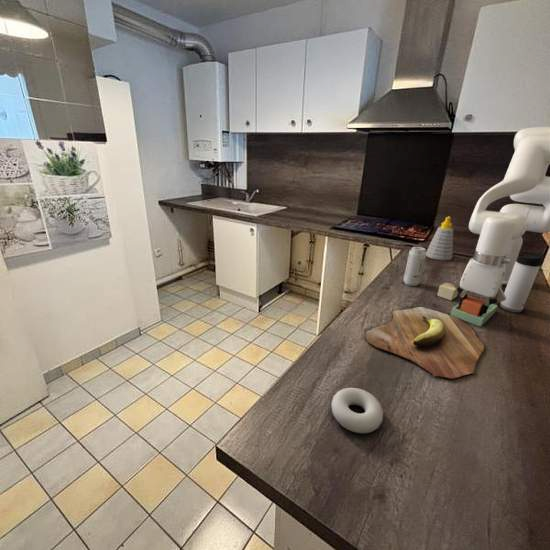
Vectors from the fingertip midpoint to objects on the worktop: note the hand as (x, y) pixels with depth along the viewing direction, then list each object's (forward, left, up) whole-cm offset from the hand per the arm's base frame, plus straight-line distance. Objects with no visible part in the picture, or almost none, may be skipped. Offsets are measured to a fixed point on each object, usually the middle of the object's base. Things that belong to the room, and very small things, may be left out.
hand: (471, 310), depth 94 cm
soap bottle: (-55, -33, -2) cm, 64 cm away
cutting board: (+22, -4, -2) cm, 23 cm away
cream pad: (-10, -11, -2) cm, 15 cm away
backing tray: (-3, 0, -2) cm, 4 cm away
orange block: (0, 0, 0) cm, 0 cm away
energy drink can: (-10, -25, -2) cm, 27 cm away
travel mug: (-18, +7, -2) cm, 19 cm away
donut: (+62, 0, -2) cm, 62 cm away
